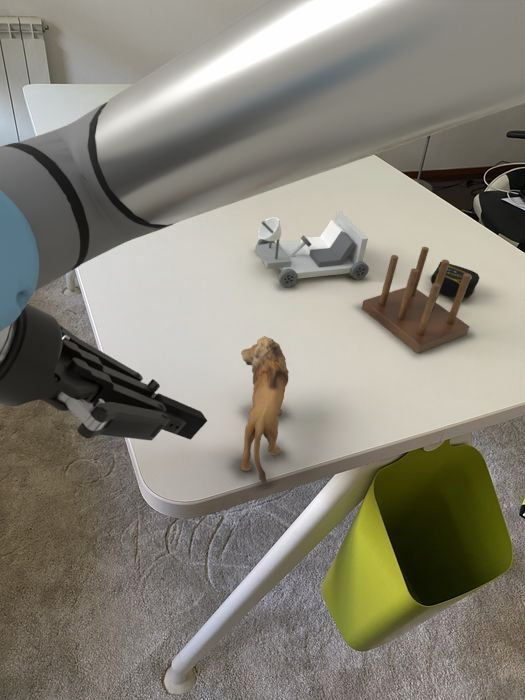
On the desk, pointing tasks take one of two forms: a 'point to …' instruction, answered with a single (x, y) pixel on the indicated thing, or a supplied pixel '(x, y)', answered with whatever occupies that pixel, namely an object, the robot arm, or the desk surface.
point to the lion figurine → (264, 399)
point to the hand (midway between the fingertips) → (195, 425)
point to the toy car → (314, 251)
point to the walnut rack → (418, 309)
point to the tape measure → (455, 281)
